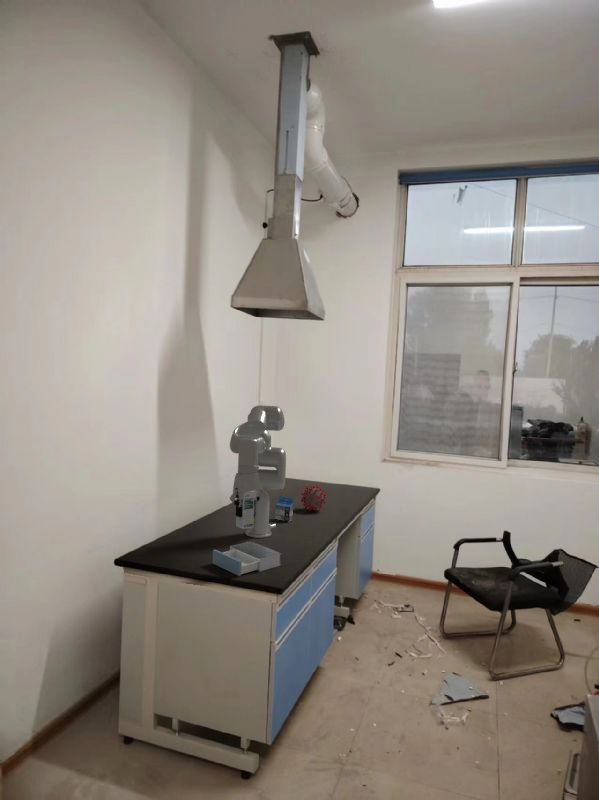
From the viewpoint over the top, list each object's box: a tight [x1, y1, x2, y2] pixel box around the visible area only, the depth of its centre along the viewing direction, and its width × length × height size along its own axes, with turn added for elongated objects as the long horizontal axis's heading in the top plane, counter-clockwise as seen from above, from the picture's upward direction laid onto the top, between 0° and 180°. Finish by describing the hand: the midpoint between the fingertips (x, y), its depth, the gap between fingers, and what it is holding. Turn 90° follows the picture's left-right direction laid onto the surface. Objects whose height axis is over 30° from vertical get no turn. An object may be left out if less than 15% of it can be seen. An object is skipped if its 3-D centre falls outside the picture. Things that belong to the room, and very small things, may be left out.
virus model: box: [300, 484, 327, 512], centre depth 297 cm, size 14×15×15 cm
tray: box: [212, 549, 259, 577], centre depth 202 cm, size 11×17×5 cm, turn 45°
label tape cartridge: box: [274, 495, 294, 523], centre depth 273 cm, size 9×4×12 cm, turn 62°
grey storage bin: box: [229, 540, 282, 573], centre depth 209 cm, size 11×19×5 cm, turn 45°
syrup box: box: [235, 491, 256, 530], centre depth 199 cm, size 6×6×14 cm
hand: (245, 514), depth 199 cm, fingers closed on syrup box, 6 cm apart
